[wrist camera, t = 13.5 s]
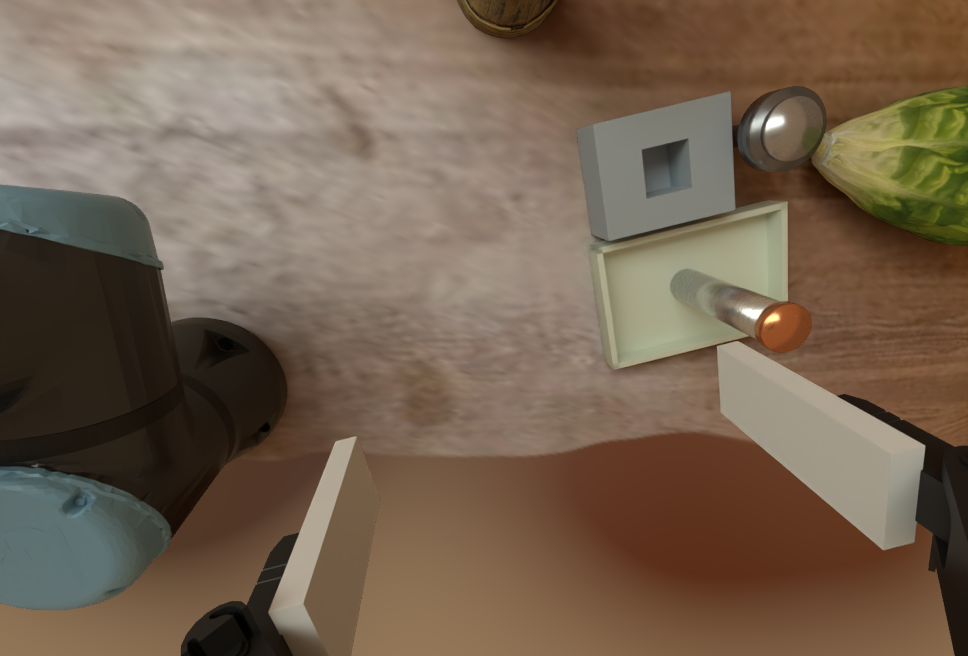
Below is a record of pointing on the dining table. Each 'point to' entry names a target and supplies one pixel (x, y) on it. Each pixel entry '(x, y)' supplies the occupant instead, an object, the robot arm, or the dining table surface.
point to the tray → (662, 253)
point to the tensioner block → (658, 167)
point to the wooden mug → (506, 15)
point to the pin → (744, 310)
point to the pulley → (781, 129)
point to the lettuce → (906, 164)
